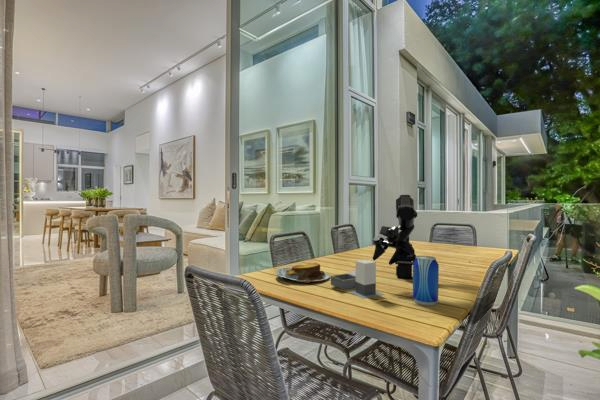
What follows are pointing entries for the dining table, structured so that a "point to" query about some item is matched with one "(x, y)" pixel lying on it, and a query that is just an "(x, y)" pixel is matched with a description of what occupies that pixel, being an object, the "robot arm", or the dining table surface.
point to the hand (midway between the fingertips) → (381, 261)
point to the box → (365, 277)
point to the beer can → (425, 280)
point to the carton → (344, 280)
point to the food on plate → (302, 273)
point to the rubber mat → (366, 295)
